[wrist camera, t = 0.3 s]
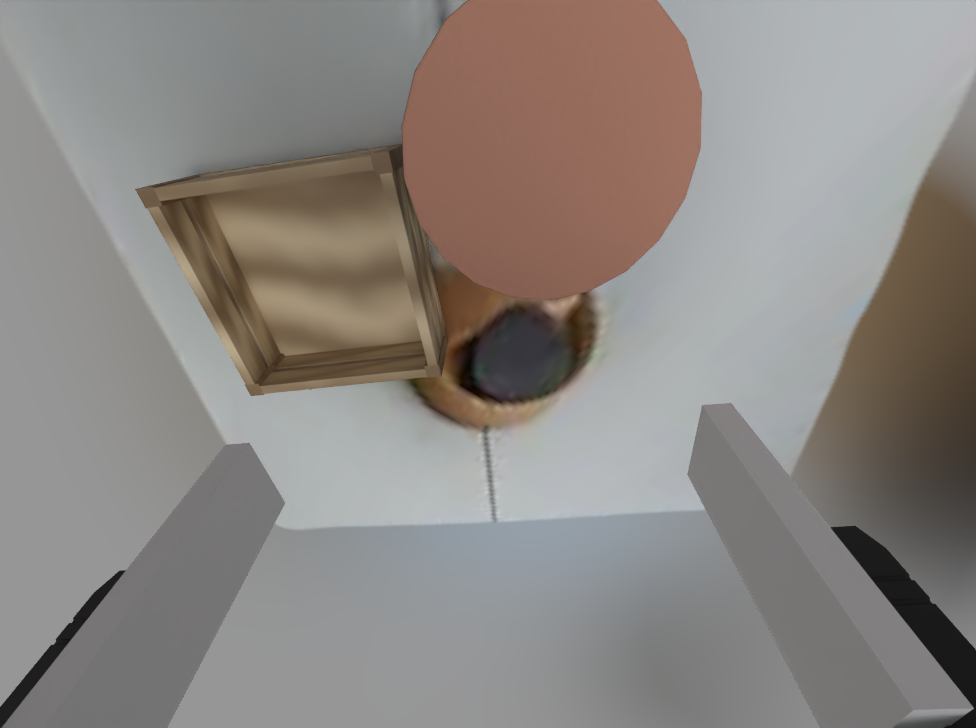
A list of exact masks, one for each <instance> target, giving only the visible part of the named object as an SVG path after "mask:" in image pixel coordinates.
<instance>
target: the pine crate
mask: <svg viewBox="0 0 976 728" xmlns="http://www.w3.org/2000/svg"><path fill="white" fill-rule="evenodd" d="M135 190H136V191H137V193H138V195H139V197H140V199H141V200H142V202H143V204H144V206H145V207H146V208H148V210H149V212H150V214H151V216H152V217H153V219H154V221H155V223H156V224H157V226H158V228H159V230H160V232H161V233H162V235H163V237H164V239H165V241H166V242H167V244H168V246H169V248H170V250H171V251H172V253H173V255H174V257H175V259H176V260H177V262H178V264H179V266H180V268H181V269H182V271H183V273H184V275H185V276H186V278H187V280H188V282H189V284H190V285H191V287H192V289H193V291H194V293H195V294H196V296H197V298H198V300H199V302H200V303H201V305H202V307H203V309H204V311H205V312H206V314H207V316H208V318H209V319H210V321H211V323H212V325H213V327H214V328H215V330H216V332H217V334H218V336H219V337H220V339H221V341H222V343H223V345H224V346H225V348H226V350H227V352H228V354H229V355H230V357H231V359H232V361H233V363H234V364H235V366H236V368H237V370H238V371H239V373H240V375H241V377H242V379H243V380H244V382H245V386H246V388H247V390H248V391H249V393H250V395H251V396H255V395H264V394H266V393H275V392H285V391H295V390H305V389H314V388H324V387H334V386H344V385H353V384H363V383H373V382H383V381H392V380H402V379H412V378H422V377H427V378H431V377H441V376H442V370H443V365H444V360H445V355H446V350H447V345H448V338H447V334H446V329H445V324H444V319H443V315H442V310H441V305H440V301H439V296H438V291H437V286H436V282H435V277H434V272H433V267H432V263H431V258H430V253H429V249H428V244H427V239H426V234H425V231H424V229H423V228H422V226H421V225H420V224H419V221H418V218H417V215H416V212H415V209H414V206H413V203H412V200H411V197H410V194H409V191H408V189H407V186H406V183H405V180H404V167H403V144H400V145H393V146H386V147H380V148H373V149H367V150H360V151H353V152H347V153H340V154H333V155H327V156H320V157H314V158H307V159H300V160H294V161H287V162H280V163H274V164H267V165H261V166H254V167H247V168H241V169H234V170H228V171H221V172H214V173H208V174H201V175H194V176H190V177H185V178H181V179H177V180H172V181H168V182H164V183H160V184H155V185H151V186H147V187H142V188H138V189H135Z"/></svg>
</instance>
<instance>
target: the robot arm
mask: <svg viewBox="0 0 976 728" xmlns="http://www.w3.org/2000/svg"><path fill="white" fill-rule="evenodd" d="M688 476H689V478H690V480H691V482H692V484H693V486H694V488H695V490H696V492H697V494H698V495H699V497H700V499H701V501H702V503H703V505H704V507H705V509H706V511H707V513H708V515H709V516H710V518H711V520H712V522H713V524H714V526H715V528H716V530H717V532H718V534H719V535H720V537H721V539H722V541H723V543H724V545H725V547H726V549H727V551H728V553H729V554H730V557H731V558H732V560H733V562H734V564H735V566H736V568H737V570H738V572H739V574H740V575H741V577H742V579H743V581H744V583H745V585H746V587H747V589H748V591H749V593H750V595H751V597H752V599H753V600H754V602H755V604H756V606H757V608H758V610H759V612H760V614H761V616H762V618H763V619H764V621H765V623H766V625H767V627H768V629H769V631H770V633H771V635H772V637H773V639H774V640H775V642H776V644H777V646H778V648H779V650H780V652H781V654H782V656H783V658H784V660H785V661H786V663H787V665H788V667H789V669H790V671H791V673H792V675H793V677H794V679H795V681H796V682H797V684H798V686H799V688H800V690H801V692H802V694H803V696H804V698H805V700H806V702H807V703H808V705H809V707H810V709H811V711H812V713H813V715H814V717H815V719H816V720H817V723H818V724H819V726H820V728H976V650H975V648H974V647H973V646H972V645H971V644H970V643H969V642H968V641H967V639H966V638H965V637H964V636H963V635H962V634H961V633H960V632H959V630H958V629H957V628H956V627H955V626H954V625H953V624H952V622H951V621H950V620H949V619H948V618H947V617H946V616H945V615H944V614H943V612H942V611H941V610H940V609H939V608H938V607H937V605H936V604H932V603H931V602H930V598H929V596H928V595H927V594H926V593H925V592H924V591H923V590H922V589H921V587H920V586H919V585H918V584H917V583H916V582H915V581H914V580H911V579H910V577H909V574H908V573H907V572H906V570H905V569H904V568H903V567H902V566H901V565H900V564H899V562H898V561H897V560H896V559H895V558H894V557H893V556H892V555H891V554H890V552H889V551H888V550H887V549H886V548H885V547H884V546H882V545H881V544H880V543H878V542H877V541H875V540H874V539H873V538H871V537H870V536H868V535H867V534H866V533H864V532H863V531H862V530H860V529H859V528H857V527H856V526H845V527H829V525H828V524H827V523H826V522H825V520H824V519H823V518H822V517H821V516H820V514H819V513H818V512H817V510H816V509H815V508H814V507H813V506H812V504H811V503H810V502H809V500H808V499H807V498H806V496H805V495H804V494H803V493H802V491H801V490H800V489H799V488H798V487H797V485H796V484H795V483H794V481H793V480H792V479H791V478H790V476H789V475H788V474H787V473H786V471H785V470H784V469H783V468H782V466H781V465H780V464H779V463H778V461H777V460H776V459H775V458H774V456H773V455H772V454H771V453H770V451H769V450H768V449H767V448H766V446H765V445H764V444H763V442H762V441H761V440H760V439H759V437H758V436H757V435H756V434H755V432H754V431H753V430H752V429H751V427H750V426H749V425H748V424H747V422H746V421H745V420H744V419H743V417H742V416H741V415H740V414H739V412H738V411H737V410H736V409H735V407H734V406H733V405H732V404H731V403H725V404H713V405H702V409H701V413H700V418H699V423H698V427H697V432H696V437H695V442H694V446H693V451H692V456H691V460H690V465H689V470H688ZM284 504H285V502H284V500H283V498H282V497H281V495H280V493H279V492H278V490H277V488H276V487H275V485H274V483H273V482H272V480H271V478H270V477H269V475H268V473H267V472H266V470H265V468H264V467H263V465H262V463H261V461H260V460H259V458H258V456H257V455H256V453H255V451H254V450H253V448H252V446H251V445H250V443H242V444H230V445H225V446H224V447H223V448H222V450H221V451H220V452H219V453H218V455H217V456H216V457H215V459H214V460H213V461H212V462H211V464H210V465H209V466H208V468H207V469H206V470H205V471H204V473H203V474H202V475H201V476H200V478H199V479H198V480H197V481H196V483H195V484H194V485H193V486H192V488H191V489H190V490H189V492H188V493H187V494H186V495H185V497H184V498H183V499H182V500H181V502H180V503H179V504H178V505H177V507H176V508H175V509H174V510H173V512H172V513H171V514H170V515H169V517H168V518H167V519H166V521H165V522H164V523H163V524H162V526H161V527H160V528H159V529H158V531H157V532H156V533H155V535H154V536H153V537H152V538H151V539H150V541H149V542H148V543H147V545H146V546H145V547H144V548H143V550H142V551H141V552H140V553H139V555H138V556H137V557H136V558H135V560H134V561H133V562H132V564H131V565H130V566H129V567H128V569H127V570H125V571H119V572H118V573H117V574H115V575H114V576H113V577H112V578H111V579H110V580H108V581H107V582H106V583H105V584H104V585H103V586H102V587H100V588H99V589H98V590H97V591H96V592H94V594H93V595H92V596H91V597H90V598H89V600H88V601H87V602H86V603H85V604H84V606H83V607H82V608H81V609H80V611H79V612H78V613H77V614H76V615H75V617H74V618H73V619H74V620H73V622H72V623H69V624H68V625H67V626H66V628H65V629H64V630H63V631H62V632H61V634H60V635H59V636H58V637H57V639H56V643H55V644H54V645H51V646H50V647H49V648H48V650H47V651H46V652H45V653H44V654H43V656H42V657H41V658H40V660H39V661H38V662H37V663H36V664H35V665H34V667H33V668H32V669H31V670H30V671H29V673H28V674H27V675H26V676H25V678H24V679H23V680H22V681H21V683H20V684H19V685H18V686H17V687H16V689H15V690H14V691H13V692H12V694H11V695H10V696H9V697H8V698H7V700H6V701H5V702H4V703H3V704H2V706H1V707H0V728H167V727H168V725H169V723H170V721H171V719H172V718H173V716H174V714H175V712H176V710H177V708H178V706H179V704H180V702H181V701H182V699H183V697H184V695H185V693H186V691H187V689H188V687H189V685H190V683H191V681H192V680H193V678H194V676H195V674H196V672H197V670H198V668H199V666H200V664H201V662H202V660H203V659H204V657H205V655H206V653H207V651H208V649H209V647H210V645H211V643H212V641H213V640H214V638H215V636H216V634H217V632H218V630H219V628H220V626H221V624H222V622H223V620H224V618H225V617H226V615H227V613H228V611H229V609H230V607H231V605H232V603H233V601H234V600H235V597H236V596H237V594H238V592H239V590H240V588H241V586H242V584H243V582H244V580H245V579H246V576H247V575H248V573H249V571H250V569H251V567H252V565H253V563H254V561H255V559H256V558H257V555H258V554H259V552H260V550H261V548H262V546H263V544H264V542H265V540H266V538H267V537H268V535H269V533H270V531H271V529H272V527H273V525H274V523H275V521H276V519H277V518H278V516H279V514H280V512H281V510H282V508H283V506H284Z"/></svg>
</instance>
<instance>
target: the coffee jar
mask: <svg viewBox="0 0 976 728" xmlns="http://www.w3.org/2000/svg"><path fill="white" fill-rule="evenodd" d="M701 106H702V92H701V89H700V86H699V82H698V79H697V75H696V72H695V68H694V65H693V62H692V58H691V55H690V51H689V48H688V44H687V41H686V39H685V37H684V36H683V35H682V33H681V32H680V31H679V29H678V28H677V27H676V25H675V24H674V22H673V21H672V20H671V18H670V17H669V16H668V14H667V13H666V12H665V10H664V9H663V8H662V6H661V5H660V4H659V2H658V1H657V0H467V1H466V2H465V3H464V4H463V5H462V6H460V7H459V8H458V9H457V10H456V11H455V12H453V13H452V14H451V15H450V16H449V17H448V18H447V19H445V21H444V23H443V24H442V26H441V28H440V29H439V31H438V33H437V34H436V36H435V38H434V39H433V41H432V43H431V45H430V46H429V48H428V50H427V51H426V53H425V55H424V56H423V58H422V60H421V62H420V63H419V65H418V67H417V68H416V70H415V73H414V77H413V81H412V85H411V89H410V94H409V98H408V102H407V106H406V110H405V114H404V118H403V123H402V144H403V167H404V180H405V183H406V186H407V189H408V191H409V194H410V197H411V200H412V203H413V206H414V209H415V212H416V215H417V218H418V221H419V224H420V225H421V226H422V228H423V229H424V231H425V232H426V234H427V235H428V236H429V238H430V239H431V241H432V242H433V244H434V245H435V246H436V248H437V249H438V251H439V252H440V254H441V255H442V256H443V258H444V259H445V260H446V261H448V262H449V263H450V264H452V265H453V266H454V267H455V268H457V269H458V270H459V271H461V272H462V273H463V274H464V275H466V276H467V277H468V278H469V279H471V280H472V281H473V282H475V283H476V284H478V285H481V286H483V287H486V288H489V289H491V290H494V291H497V292H499V293H502V294H505V295H507V296H510V297H513V298H529V299H545V300H552V299H557V298H561V297H566V296H570V295H574V294H579V293H583V292H588V291H590V290H592V289H594V288H596V287H598V286H600V285H602V284H603V283H605V282H607V281H609V280H611V279H613V278H614V277H616V276H618V275H620V274H622V273H624V272H625V271H627V270H628V269H629V268H630V267H631V266H632V265H633V264H634V263H635V262H636V261H637V260H639V259H640V258H641V257H642V256H643V255H644V254H645V253H646V252H647V251H648V250H649V249H650V248H651V247H652V246H653V245H654V244H655V243H656V242H658V241H659V239H660V238H661V236H662V235H663V233H664V231H665V230H666V228H667V227H668V225H669V223H670V222H671V220H672V219H673V217H674V215H675V214H676V212H677V211H678V209H679V207H680V206H681V204H682V203H683V201H684V199H685V197H686V194H687V191H688V187H689V184H690V181H691V178H692V174H693V171H694V168H695V165H696V161H697V158H698V155H699V152H700V148H701Z"/></svg>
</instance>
